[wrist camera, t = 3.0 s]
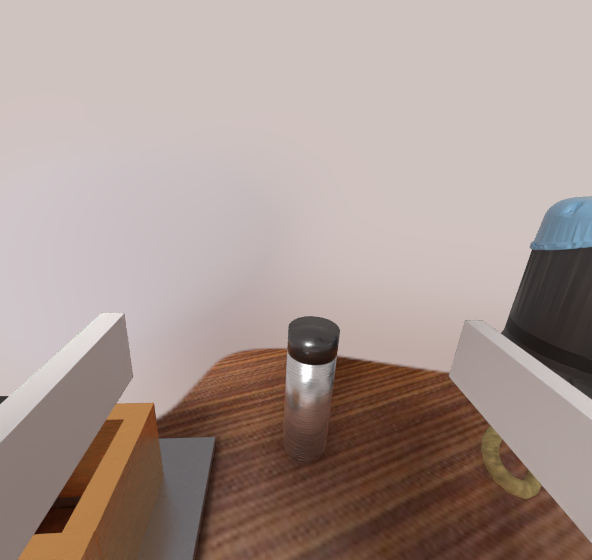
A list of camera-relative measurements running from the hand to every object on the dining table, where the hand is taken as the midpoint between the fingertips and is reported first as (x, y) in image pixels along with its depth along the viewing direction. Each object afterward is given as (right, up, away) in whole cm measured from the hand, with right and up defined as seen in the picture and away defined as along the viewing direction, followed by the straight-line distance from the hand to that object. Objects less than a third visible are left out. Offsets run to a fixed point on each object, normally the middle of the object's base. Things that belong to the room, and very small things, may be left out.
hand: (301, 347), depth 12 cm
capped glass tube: (0, -12, +16) cm, 20 cm away
